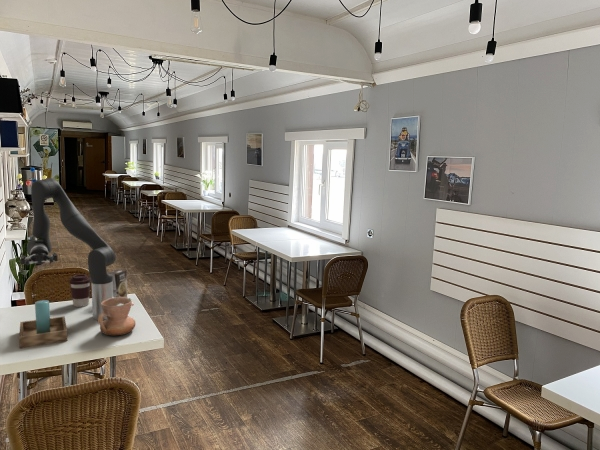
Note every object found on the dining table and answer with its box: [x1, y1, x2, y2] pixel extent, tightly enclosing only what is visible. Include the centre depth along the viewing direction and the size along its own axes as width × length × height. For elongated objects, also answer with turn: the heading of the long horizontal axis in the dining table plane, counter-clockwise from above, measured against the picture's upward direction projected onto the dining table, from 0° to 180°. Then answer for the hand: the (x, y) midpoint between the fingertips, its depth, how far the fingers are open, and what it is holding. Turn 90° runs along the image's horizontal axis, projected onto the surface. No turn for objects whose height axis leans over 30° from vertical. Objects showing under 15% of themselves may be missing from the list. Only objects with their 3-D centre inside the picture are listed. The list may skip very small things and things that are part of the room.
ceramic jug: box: [97, 296, 136, 336], centre depth 203 cm, size 18×14×14 cm
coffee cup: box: [68, 273, 91, 308], centre depth 235 cm, size 10×10×15 cm
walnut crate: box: [18, 316, 68, 349], centre depth 197 cm, size 17×18×4 cm
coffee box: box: [107, 268, 128, 298], centre depth 242 cm, size 9×6×16 cm
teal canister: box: [34, 299, 51, 334], centre depth 196 cm, size 5×5×14 cm
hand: (39, 262), depth 202 cm, fingers open, 8 cm apart
